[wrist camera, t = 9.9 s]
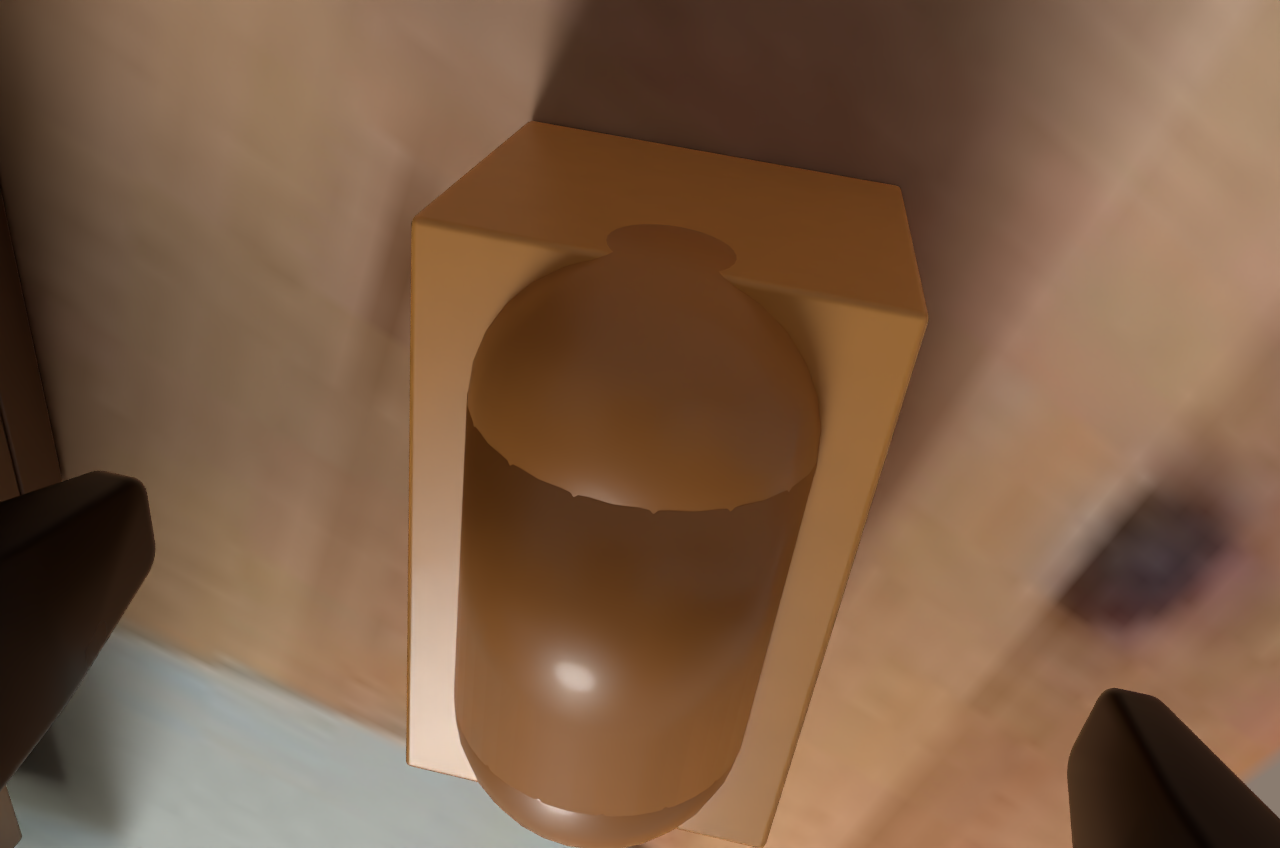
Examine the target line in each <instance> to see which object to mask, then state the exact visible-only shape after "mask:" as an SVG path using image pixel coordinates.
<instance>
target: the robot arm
mask: <svg viewBox="0 0 1280 848" xmlns="http://www.w3.org/2000/svg"><path fill="white" fill-rule="evenodd" d="M154 556H155V540H154V534H153V528H152V521H151V515H150V509H149V503H148V496H147V492H146V488H145V487H144V485H143V483H142V482H141V481H140V480H138V479H136V478H134V477H130V476H125V475H121V474H116V473H111V472H107V471H94V472H90V473H87V474H84V475H81V476H78V477H75V478H72V479H69V480H66V481H63V482H60V483H57V484H54V485H51V486H48V487H45V488H42V489H39V490H35V491H32V492H29V493H26V494H23V495H20V496H17V497H14V498H11V499H8V500H5V501H2V502H0V791H1V790H2V789H3V787H4V786H5V785H6V784H7V782H8V781H9V780H10V778H11V777H12V776H13V774H14V773H15V772H16V771H17V769H18V768H19V767H20V765H21V764H22V763H23V761H24V760H25V759H26V758H27V756H28V755H29V754H30V752H31V751H32V750H33V748H34V747H35V746H36V745H37V743H38V742H39V741H40V739H41V738H42V737H43V735H44V734H45V733H46V732H47V730H48V729H49V728H50V726H51V725H52V724H53V722H54V721H55V719H56V718H57V717H58V715H59V714H60V713H61V711H62V710H63V708H64V707H65V706H66V704H67V703H68V701H69V700H70V698H71V697H72V695H73V694H74V692H75V691H76V689H77V688H78V686H79V685H80V683H81V682H82V680H83V679H84V677H85V675H86V674H87V672H88V670H89V669H90V667H91V666H92V664H93V662H94V661H95V659H96V657H97V656H98V654H99V653H100V651H101V649H102V648H103V646H104V644H105V643H106V641H107V640H108V638H109V636H110V635H111V633H112V632H113V630H114V628H115V627H116V625H117V623H118V622H119V620H120V619H121V617H122V615H123V614H124V612H125V610H126V609H127V607H128V606H129V604H130V602H131V601H132V599H133V597H134V596H135V594H136V593H137V591H138V589H139V588H140V586H141V585H142V583H143V581H144V580H145V578H146V576H147V575H148V573H149V571H150V569H151V566H152V564H153V561H154ZM1067 779H1068V792H1069V805H1070V818H1071V830H1072V843H1073V848H1280V819H1279V818H1278V817H1277V816H1276V815H1275V814H1274V813H1273V812H1272V811H1271V810H1270V809H1269V808H1268V807H1267V806H1266V805H1265V804H1264V803H1263V802H1262V801H1261V800H1260V799H1259V798H1258V797H1257V796H1256V795H1255V794H1254V793H1253V792H1252V791H1251V790H1250V789H1249V788H1248V787H1247V786H1246V785H1245V784H1244V783H1243V782H1242V781H1241V780H1240V779H1239V778H1238V777H1237V776H1236V775H1235V774H1234V773H1233V772H1232V771H1231V770H1230V769H1229V768H1228V767H1227V766H1226V765H1225V764H1224V763H1223V762H1222V761H1221V760H1220V759H1219V758H1218V757H1217V756H1216V755H1215V754H1214V753H1213V752H1212V751H1211V750H1210V749H1209V748H1208V747H1207V746H1206V745H1205V744H1204V743H1203V742H1202V741H1201V740H1200V739H1199V738H1198V737H1197V736H1196V735H1195V734H1194V733H1193V732H1192V731H1191V730H1190V729H1189V728H1188V727H1187V726H1186V725H1185V724H1184V723H1183V722H1182V721H1181V720H1180V719H1179V718H1178V717H1177V716H1176V715H1175V714H1174V713H1173V712H1172V711H1171V710H1170V709H1169V708H1168V707H1167V706H1166V705H1165V704H1164V703H1163V702H1162V701H1160V700H1159V699H1157V698H1156V697H1153V696H1150V695H1146V694H1142V693H1137V692H1132V691H1128V690H1123V689H1118V688H1111V689H1107V690H1105V691H1104V692H1103V693H1102V694H1101V695H1100V697H1099V698H1098V700H1097V701H1096V703H1095V705H1094V707H1093V709H1092V711H1091V713H1090V715H1089V717H1088V719H1087V720H1086V722H1085V724H1084V726H1083V728H1082V730H1081V732H1080V734H1079V736H1078V738H1077V740H1076V742H1075V743H1074V745H1073V748H1072V750H1071V753H1070V756H1069V761H1068V769H1067Z"/></svg>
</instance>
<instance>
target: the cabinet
mask: <svg viewBox="0 0 1280 848" xmlns="http://www.w3.org/2000/svg"><path fill="white" fill-rule="evenodd" d="M61 481H62V476H61V472H60V467H59V462H58V458H57V453H56V448H55V443H54V439H53V434H52V429H51V425H50V420H49V415H48V410H47V406H46V401H45V396H44V392H43V387H42V382H41V377H40V373H39V368H38V363H37V359H36V354H35V349H34V344H33V340H32V335H31V330H30V326H29V321H28V316H27V312H26V307H25V302H24V297H23V293H22V288H21V283H20V279H19V274H18V269H17V264H16V260H15V255H14V250H13V246H12V241H11V236H10V231H9V227H8V222H7V217H6V213H5V208H4V203H3V198H2V194H1V189H0V502H2V501H5V500H8V499H11V498H14V497H17V496H20V495H23V494H26V493H29V492H32V491H35V490H39V489H42V488H45V487H48V486H51V485H54V484H57V483H60V482H61Z"/></svg>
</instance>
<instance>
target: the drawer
mask: <svg viewBox="0 0 1280 848" xmlns="http://www.w3.org/2000/svg"><path fill="white" fill-rule="evenodd" d="M21 838H22V835H21V831H20V828H19V825H18V822H17V818H16V815H15V812H14V809H13V805H12V802H11V799H10V796H9V792H8V789H7V786H6V785H5V786H4V787H3V789H2V790H1V791H0V848H14V847H15V846H16V845H17V843H18V842H19V841H20V840H21Z"/></svg>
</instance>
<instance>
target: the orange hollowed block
mask: <svg viewBox="0 0 1280 848" xmlns="http://www.w3.org/2000/svg"><path fill="white" fill-rule="evenodd" d="M928 321H929V317H928V311H927V307H926V302H925V297H924V293H923V288H922V284H921V279H920V274H919V270H918V265H917V261H916V256H915V252H914V247H913V242H912V238H911V233H910V229H909V224H908V219H907V215H906V210H905V206H904V201H903V196H902V192H901V188H899V187H898V186H896V185H890V184H884V183H879V182H873V181H868V180H862V179H856V178H851V177H845V176H839V175H834V174H828V173H823V172H817V171H811V170H806V169H800V168H794V167H789V166H783V165H778V164H772V163H766V162H761V161H755V160H749V159H744V158H738V157H733V156H727V155H721V154H716V153H710V152H704V151H699V150H693V149H687V148H682V147H676V146H671V145H665V144H659V143H654V142H648V141H642V140H637V139H631V138H626V137H620V136H614V135H609V134H603V133H597V132H592V131H586V130H581V129H575V128H569V127H564V126H558V125H552V124H547V123H541V122H536V121H531V122H528V123H527V124H525V125H524V126H523V127H522V128H521V129H519V130H518V131H517V132H516V133H515V134H513V135H512V136H511V137H510V138H509V139H507V140H506V141H505V142H504V143H503V144H501V145H500V146H499V147H498V148H496V149H495V150H494V151H493V152H492V153H490V154H489V155H488V156H487V157H486V158H484V159H483V160H482V161H481V162H480V163H478V164H477V165H476V166H475V167H474V168H472V169H471V170H470V171H469V172H468V173H466V174H465V175H464V176H463V177H462V178H460V179H459V180H458V181H457V182H455V183H454V184H453V185H452V186H451V187H449V188H448V189H447V190H446V191H445V192H443V193H442V194H441V195H440V196H439V197H437V198H436V199H435V200H434V201H433V202H431V203H430V204H429V205H428V206H427V207H425V208H424V209H423V210H422V211H421V212H419V213H418V214H417V215H416V216H414V218H413V220H412V230H411V331H410V432H409V534H408V635H407V737H406V762H407V764H408V765H410V766H413V767H417V768H421V769H426V770H430V771H434V772H438V773H443V774H447V775H451V776H455V777H460V778H464V779H468V780H472V781H477V782H479V784H480V785H481V786H482V787H483V789H484V790H485V791H486V792H487V794H488V795H489V796H490V797H491V799H492V800H493V801H494V802H495V803H496V804H497V805H498V806H499V807H500V808H501V809H502V810H503V811H504V812H505V813H507V814H508V815H509V816H510V817H511V818H513V819H514V820H515V821H516V822H518V823H519V824H520V825H521V826H523V827H525V828H526V829H528V830H530V831H532V832H534V833H535V834H537V835H539V836H541V837H543V838H545V839H548V840H551V841H554V842H557V843H560V844H563V845H566V846H572V847H579V848H624V847H629V846H634V845H638V844H642V843H645V842H647V841H650V840H652V839H654V838H657V837H659V836H661V835H664V834H666V833H668V832H670V831H672V830H674V829H681V830H685V831H689V832H693V833H698V834H702V835H706V836H710V837H715V838H719V839H723V840H727V841H732V842H736V843H740V844H744V845H749V846H753V847H757V848H763V847H764V845H765V844H766V842H767V839H768V835H769V832H770V829H771V826H772V822H773V819H774V816H775V813H776V810H777V806H778V803H779V800H780V797H781V794H782V790H783V787H784V784H785V781H786V777H787V774H788V771H789V768H790V765H791V761H792V758H793V755H794V752H795V749H796V745H797V742H798V739H799V736H800V732H801V729H802V726H803V723H804V720H805V716H806V713H807V710H808V707H809V703H810V700H811V697H812V694H813V691H814V687H815V684H816V681H817V678H818V675H819V671H820V668H821V665H822V662H823V658H824V655H825V652H826V649H827V646H828V642H829V639H830V636H831V633H832V630H833V626H834V623H835V620H836V617H837V613H838V610H839V607H840V604H841V601H842V597H843V594H844V591H845V588H846V584H847V581H848V578H849V575H850V572H851V568H852V565H853V562H854V559H855V556H856V552H857V549H858V546H859V543H860V539H861V536H862V533H863V530H864V527H865V523H866V520H867V517H868V514H869V511H870V507H871V504H872V501H873V498H874V494H875V491H876V488H877V485H878V482H879V478H880V475H881V472H882V469H883V465H884V462H885V459H886V456H887V453H888V449H889V446H890V443H891V440H892V437H893V433H894V430H895V427H896V424H897V420H898V417H899V414H900V411H901V408H902V404H903V401H904V398H905V395H906V392H907V388H908V385H909V382H910V379H911V375H912V372H913V369H914V366H915V363H916V359H917V356H918V353H919V350H920V346H921V343H922V340H923V337H924V334H925V330H926V327H927V324H928Z"/></svg>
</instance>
